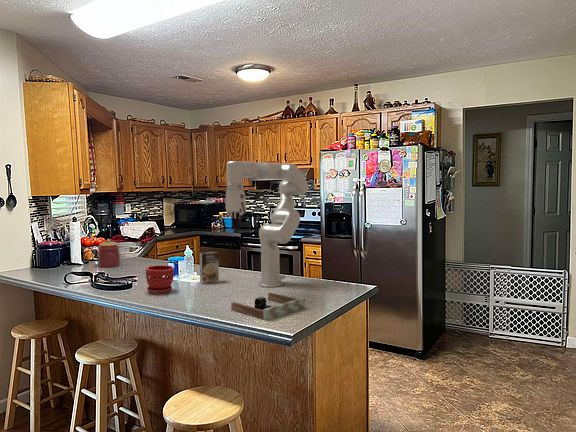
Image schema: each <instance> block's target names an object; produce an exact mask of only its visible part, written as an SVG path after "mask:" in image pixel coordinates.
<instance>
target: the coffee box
mask: <svg viewBox="0 0 576 432" xmlns="http://www.w3.org/2000/svg"><path fill="white" fill-rule="evenodd" d="M219 254H220V253H219V252H218V251H203V252H202V251H200V252H199V282H200V284H201V285H205V284H207V285H208V284H218V283H220V277H219V276H220V275H219V274H220V272H219V268H220V267H219V263H220V261H219V260H220V259H219V258H220V257H219V256H220V255H219Z"/></svg>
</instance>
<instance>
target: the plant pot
mask: <svg viewBox="0 0 576 432" xmlns="http://www.w3.org/2000/svg"><path fill="white" fill-rule="evenodd" d="M174 273H175V268H174V267H173V266H171V265H163V264H161V265H152V266H151V265H150V266H147V267H146V268H145V278H146V283H147V285H148V287H146V290H147V291H148V292H149V293H152V294H165V293H168V292H170V291H171V290H172V289H173V287H172V284H173V281H174V276H175V275H174Z"/></svg>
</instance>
